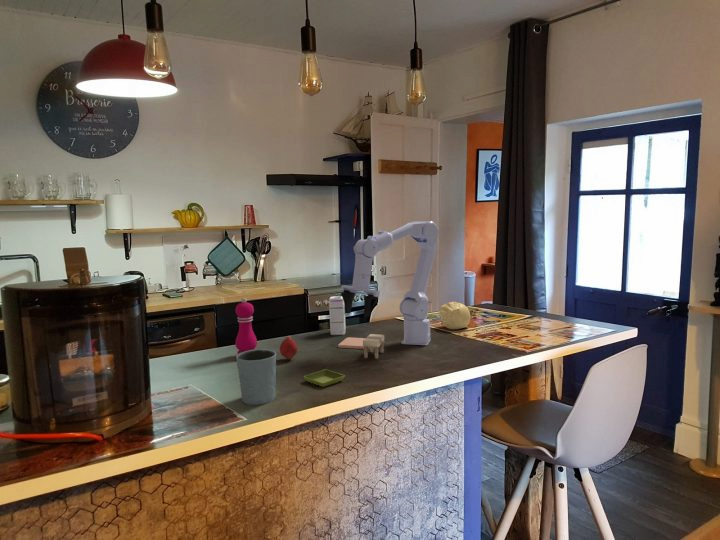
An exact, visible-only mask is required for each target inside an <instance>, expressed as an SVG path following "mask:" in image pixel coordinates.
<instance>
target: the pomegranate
mask: <svg viewBox="0 0 720 540" xmlns="http://www.w3.org/2000/svg"><path fill="white" fill-rule="evenodd" d="M298 349H299V348H298V344H297V343H296V341H295V340H294V339H292V338H291V336H290V335H288V336H286V338H285V339H283V341H281V343H280V346H279V353H280V354H281V356H283V357H284V358H285V359H287V360H289V361H290V359H291V360H292V359H293V358H294V356H296V354H297V353H298Z"/></svg>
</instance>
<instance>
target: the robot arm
mask: <svg viewBox="0 0 720 540" xmlns="http://www.w3.org/2000/svg"><path fill="white" fill-rule="evenodd" d="M377 232H378V233H376V234H374V235H368V236H367V238H366V239H358V240H357V241H356V243H355V245H354V246H353V253H354V254H355V261H354V267H353V269H354V270H353V275H352V284H351V285H344V284H342V285H341V287H340V288H341V289H340V291H341V293H340V296H342V297H343V300H344V305H345V314H351V312H352V308H353V307H352V306H353V302H354V299H355V296H356V294H359V295H363V302H364V306H363V307H364V309H363V317H364V318H369V317H370V315H371V312H372V309H373V307H374V306H375V304H376V303H377V301H378V300H379V297H380V293H381V291H380V290H375V289H372V288H371V289H370V284H371V283H370V282H371V277H372V276H371V275H372V268H373V260H374V257H376V255H377V254H378V253H379V252H381V251H383V250H386V249H388V248H390V247H392V246H393V242H395V241H398V240H401V239H403V238H406V237H408V236H410V238H411V239H413V241H414V242H416V243H417V244H418V246H419V247H420V253H419V257H418V259H417V260H418V261H417V263H416V268H415V270H414V275H413V279H412V283H411V287H410V289H409V291H407V292H405V294H404V297H403V299H402V300H401V302H400V303H399V312H400V313H401V315H402V318H403V335H404V336H403V340H402V341H401V345H411V346H412V345H413V346H417V345H418V346H419V345H420V346H428V345H429V344H430V342H431V340H432V339H431V320H430V318H426V316H427V315H428V312H429V306H428V305H429V301H430V300H429V298H428V297H427V295H426V292H427V288H428V285H429V280H430V276H431V273H432V270H433V267H434V266H433V265H434V262H435V258H436V254H437V250H438V236H439V233H440V229H439V228H438V225H437V224H436V222H434V221H432V220H430V221H417V220H413V221H411V222H407V223H406V224H404V225H402V226H399V227H398V228H396V229H395V230H392V231H390V232H388V231H387V230H379V231H377Z"/></svg>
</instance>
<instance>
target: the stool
mask: <svg viewBox="0 0 720 540" xmlns="http://www.w3.org/2000/svg"><path fill="white" fill-rule="evenodd" d="M384 342H385V334H379V333H378V334H377V333H376V334H374V333H370V334H369V335H367V336H366V337H365V339H364V340H363V346H364V349H363V358H364V359H368V358H369V356H368V355H369V352H370V353H374V359H375V360H378V359H379V353H380V354H384V353H385V350H384V346H385V345H384V344H385V343H384ZM379 345H380V346H379ZM368 347H370V349H368ZM373 347H375V350H373ZM379 348H380V349H379ZM379 351H380V352H379Z"/></svg>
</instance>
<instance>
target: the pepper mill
mask: <svg viewBox="0 0 720 540" xmlns="http://www.w3.org/2000/svg"><path fill="white" fill-rule="evenodd" d="M247 301H248V299H247V298H246V297H243V298H242V299H241V302H239V303H238V304H237V305H236V307H235V314H236V315H237V322H238V325H239V326H238V327H239V328H238V332H237V336H236V338H235V347H236V349H238V350H237V354H236V356H237V355H238V354H240V353H242V352H245V351H249V350H256V347H257V346H258V340H257V336H256V335H255V332H254V330H253V326H252V321H253V320H254V319H253V318H254V316H253V314H254V311H255V309H254V308H255V307H254V305H253V304H252V303H250V302H247Z"/></svg>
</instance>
